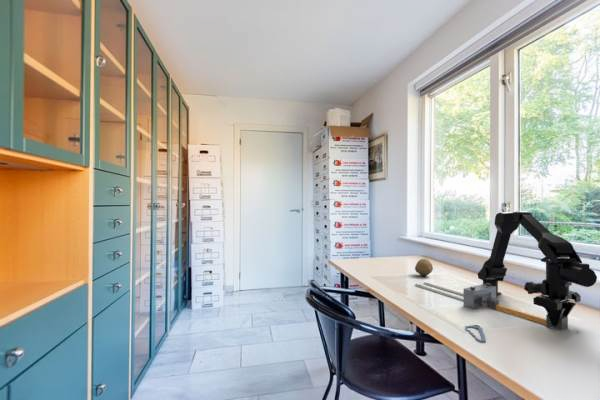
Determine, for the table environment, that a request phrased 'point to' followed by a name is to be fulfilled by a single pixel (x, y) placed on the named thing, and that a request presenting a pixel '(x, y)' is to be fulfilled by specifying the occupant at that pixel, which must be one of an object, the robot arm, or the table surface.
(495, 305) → the grey-capped orange bar
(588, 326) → the table surface
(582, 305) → the table surface
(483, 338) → the grey curved loop
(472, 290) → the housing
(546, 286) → the robot arm
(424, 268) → the natural sponge
